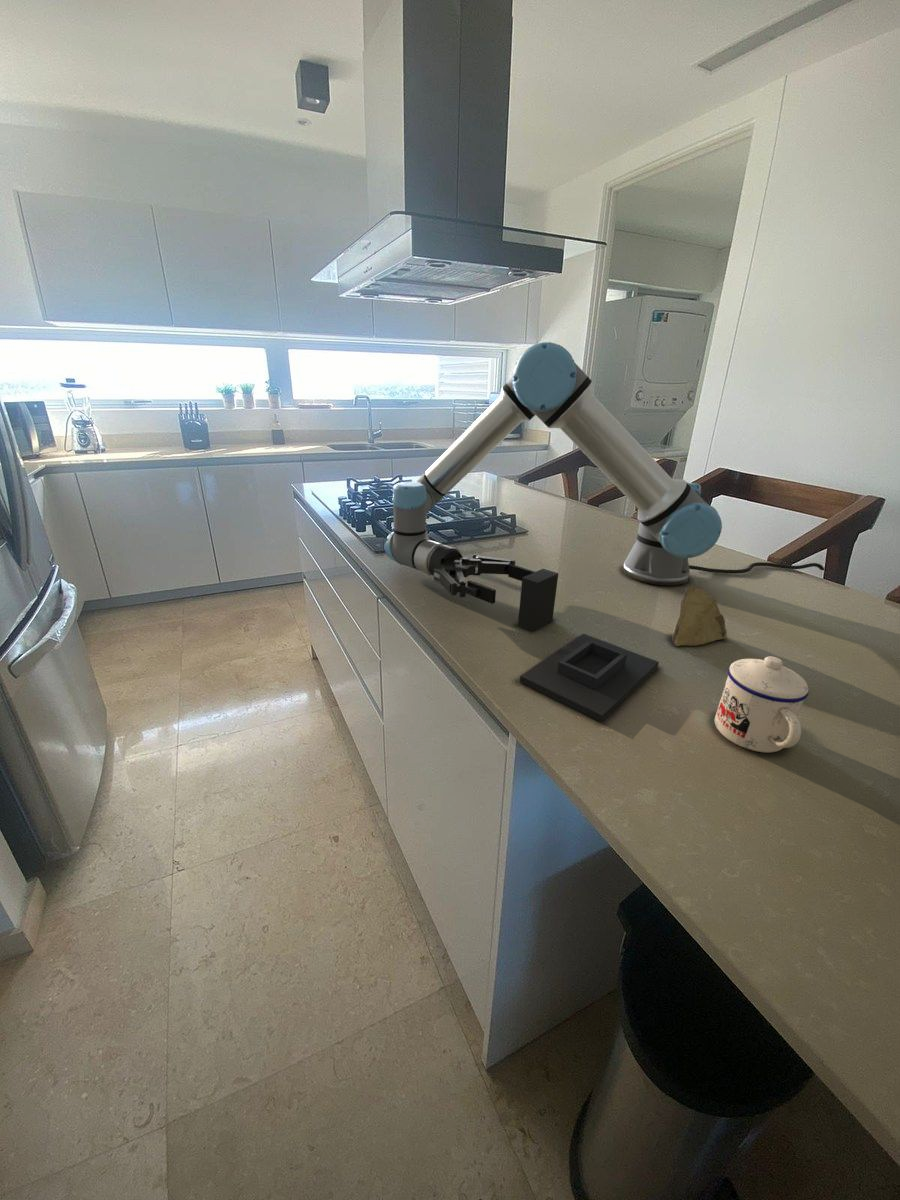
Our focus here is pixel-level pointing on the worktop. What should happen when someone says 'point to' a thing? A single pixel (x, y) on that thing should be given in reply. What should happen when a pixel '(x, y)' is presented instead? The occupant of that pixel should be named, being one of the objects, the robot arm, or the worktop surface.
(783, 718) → the teacup with lid
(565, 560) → the worktop surface
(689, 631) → the rock
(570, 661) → the base pad
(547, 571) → the black block
